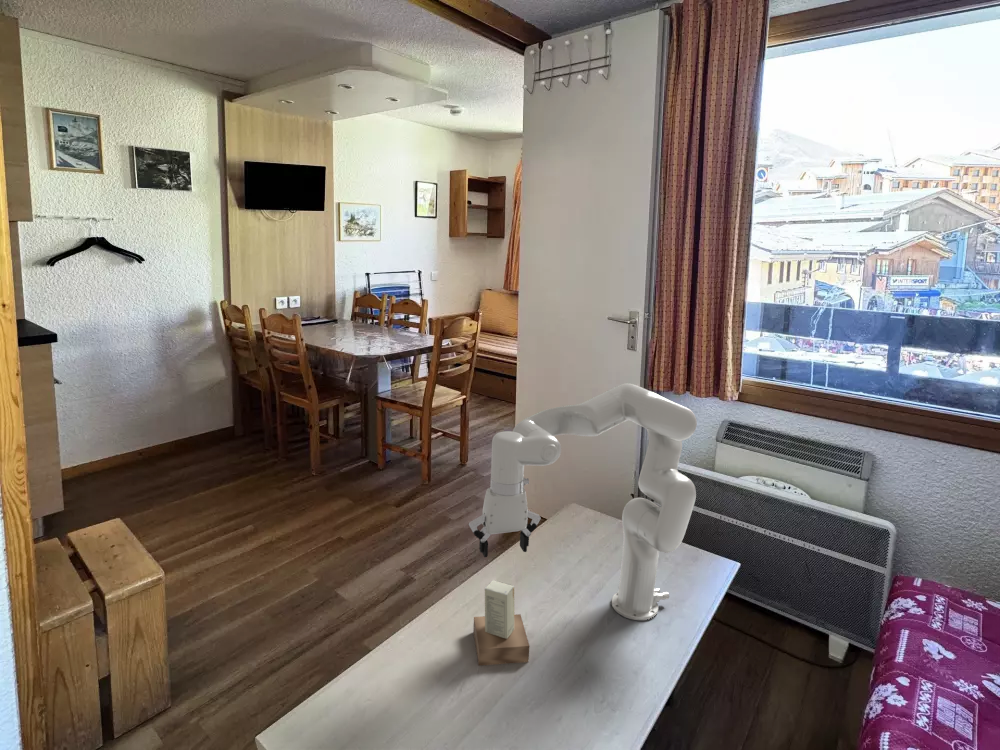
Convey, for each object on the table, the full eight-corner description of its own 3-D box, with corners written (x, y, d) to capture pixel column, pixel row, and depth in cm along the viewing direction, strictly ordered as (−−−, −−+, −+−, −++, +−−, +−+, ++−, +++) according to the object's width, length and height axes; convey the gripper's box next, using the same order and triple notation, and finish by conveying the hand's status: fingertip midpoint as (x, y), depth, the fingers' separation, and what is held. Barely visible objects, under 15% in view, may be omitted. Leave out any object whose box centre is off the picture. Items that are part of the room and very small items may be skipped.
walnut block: (519, 631, 159) (520, 614, 157) (528, 663, 147) (529, 645, 146) (473, 633, 157) (473, 616, 155) (478, 667, 145) (479, 649, 144)
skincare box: (514, 629, 151) (516, 585, 148) (507, 640, 147) (508, 595, 144) (491, 621, 154) (492, 578, 151) (483, 631, 150) (484, 587, 147)
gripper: (536, 475, 147) (532, 539, 151) (466, 481, 142) (464, 548, 146) (547, 488, 140) (543, 555, 145) (474, 496, 135) (472, 565, 139)
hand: (503, 551), depth 145 cm, fingers open, 9 cm apart
